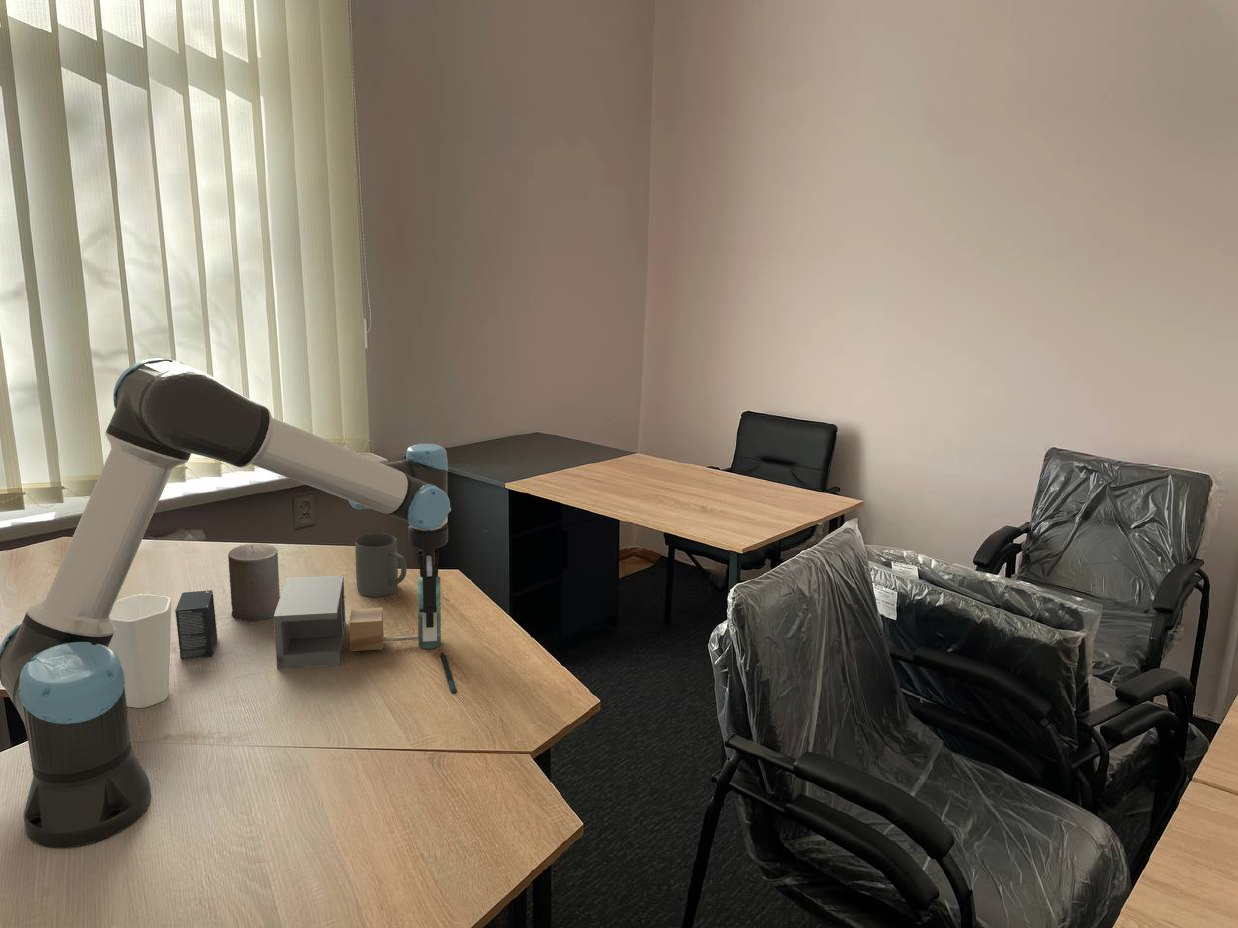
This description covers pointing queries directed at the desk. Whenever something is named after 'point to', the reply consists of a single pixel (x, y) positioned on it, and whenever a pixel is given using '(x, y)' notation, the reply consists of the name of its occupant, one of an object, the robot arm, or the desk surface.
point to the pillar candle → (254, 581)
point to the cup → (143, 647)
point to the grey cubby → (310, 622)
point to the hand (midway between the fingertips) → (429, 633)
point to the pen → (448, 673)
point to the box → (196, 624)
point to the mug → (378, 565)
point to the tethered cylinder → (370, 625)
